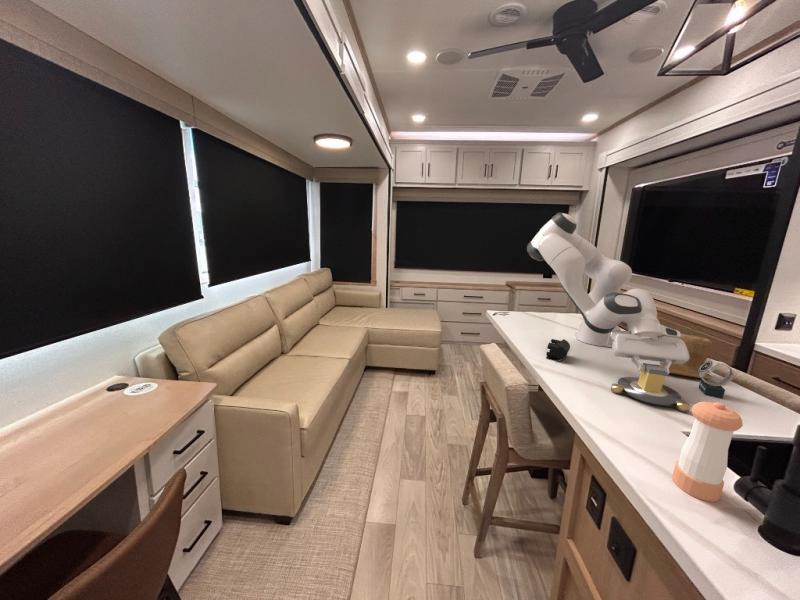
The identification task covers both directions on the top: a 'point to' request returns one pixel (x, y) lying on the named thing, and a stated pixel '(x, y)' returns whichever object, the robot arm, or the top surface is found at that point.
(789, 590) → the top surface
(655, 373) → the block
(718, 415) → the pepper shaker
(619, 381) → the levelling base
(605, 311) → the robot arm
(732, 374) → the watch
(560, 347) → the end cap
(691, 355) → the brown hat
